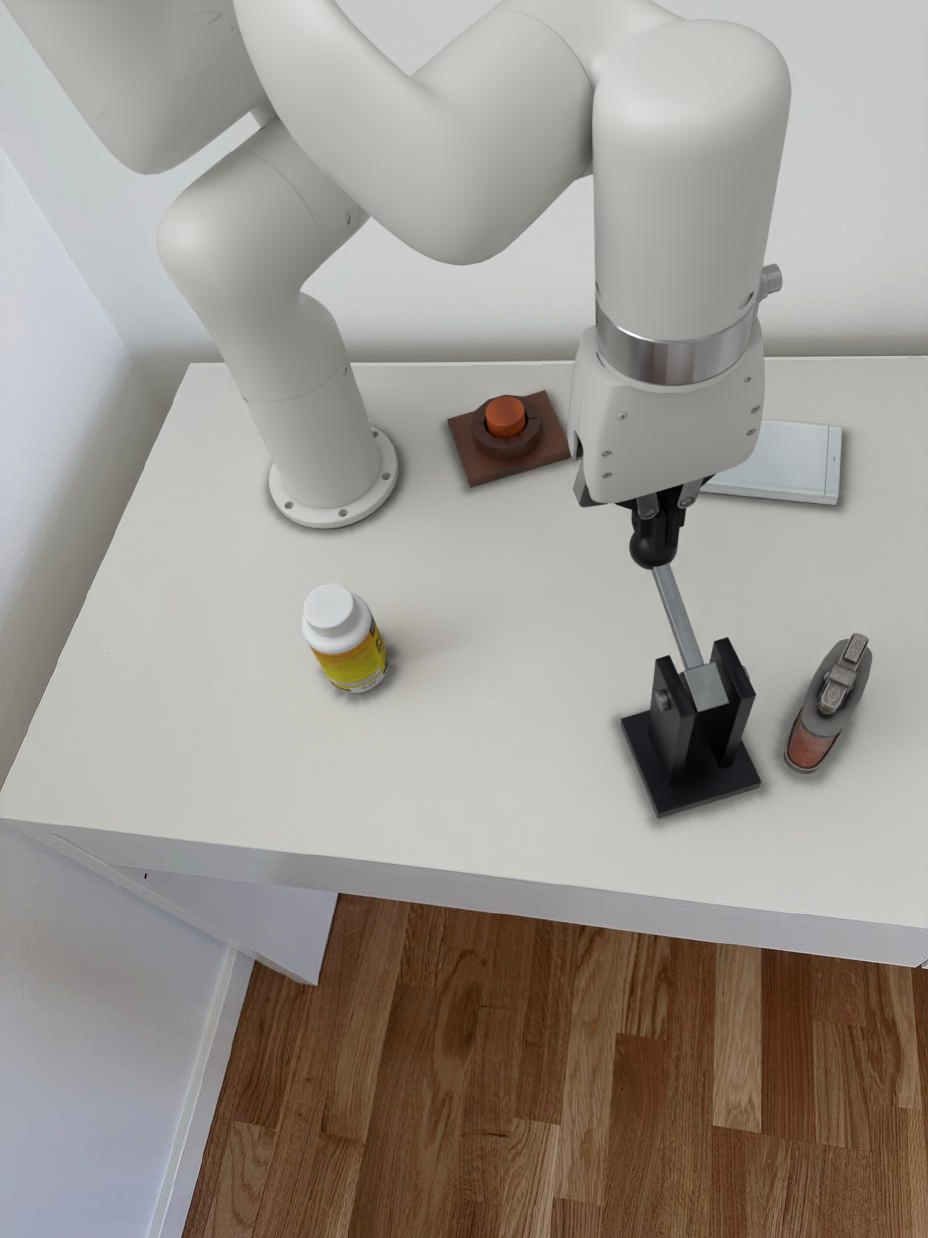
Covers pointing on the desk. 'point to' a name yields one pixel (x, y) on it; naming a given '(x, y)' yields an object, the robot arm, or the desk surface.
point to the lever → (681, 629)
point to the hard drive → (787, 464)
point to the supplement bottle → (344, 638)
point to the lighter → (828, 704)
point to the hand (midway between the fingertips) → (656, 533)
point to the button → (505, 417)
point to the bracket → (693, 738)
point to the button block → (509, 441)
